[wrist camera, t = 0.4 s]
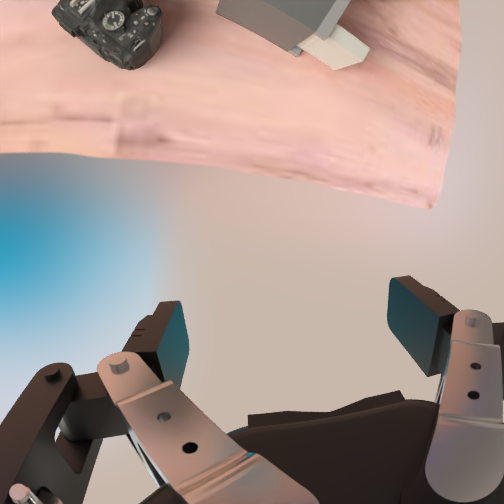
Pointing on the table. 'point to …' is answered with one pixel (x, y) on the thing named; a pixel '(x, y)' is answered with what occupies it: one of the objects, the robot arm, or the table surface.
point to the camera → (113, 28)
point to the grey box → (285, 19)
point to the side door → (336, 48)
